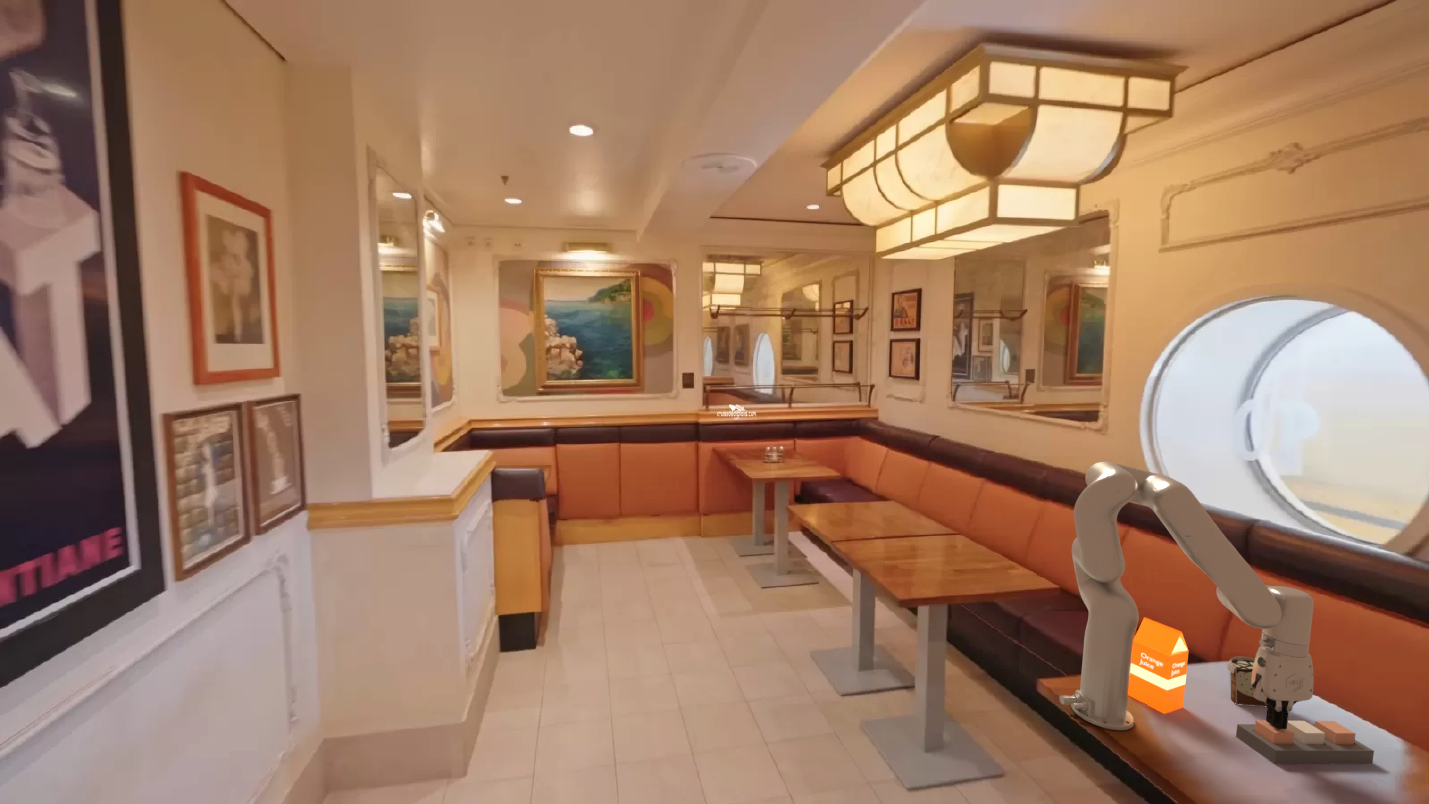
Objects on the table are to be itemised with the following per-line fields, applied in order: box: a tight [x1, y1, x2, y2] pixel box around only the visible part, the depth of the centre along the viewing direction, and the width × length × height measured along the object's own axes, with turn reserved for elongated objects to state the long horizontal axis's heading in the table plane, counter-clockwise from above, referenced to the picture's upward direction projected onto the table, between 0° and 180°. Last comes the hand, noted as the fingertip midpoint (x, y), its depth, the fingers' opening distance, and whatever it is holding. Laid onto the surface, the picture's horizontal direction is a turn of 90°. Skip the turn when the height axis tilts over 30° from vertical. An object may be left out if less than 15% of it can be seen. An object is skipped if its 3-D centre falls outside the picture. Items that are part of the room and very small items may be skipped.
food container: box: [1226, 656, 1267, 708], centre depth 152 cm, size 12×6×10 cm, turn 84°
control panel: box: [1235, 723, 1375, 765], centre depth 133 cm, size 22×9×3 cm, turn 92°
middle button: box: [1287, 720, 1325, 745], centre depth 132 cm, size 4×4×4 cm
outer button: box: [1314, 720, 1356, 745], centre depth 133 cm, size 4×4×4 cm
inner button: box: [1254, 719, 1294, 744], centre depth 132 cm, size 4×4×4 cm
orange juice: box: [1128, 616, 1189, 715], centre depth 149 cm, size 8×9×20 cm
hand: (1276, 725), depth 132 cm, fingers closed
